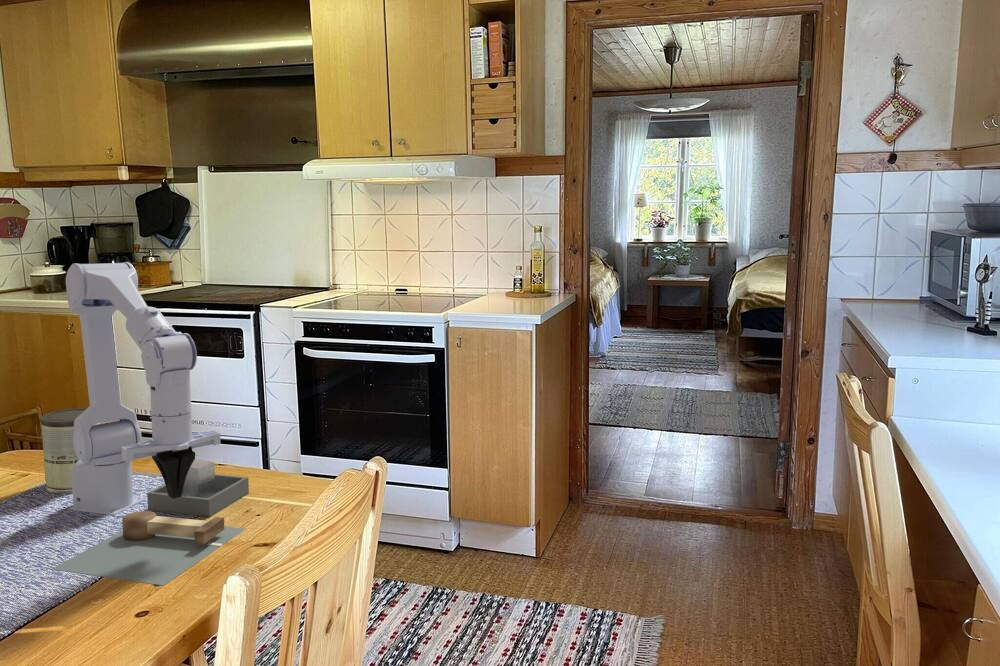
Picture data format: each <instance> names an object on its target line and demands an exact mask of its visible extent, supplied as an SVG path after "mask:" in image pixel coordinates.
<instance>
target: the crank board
mask: <svg viewBox="0 0 1000 666" xmlns="http://www.w3.org/2000/svg"><path fill="white" fill-rule="evenodd" d="M244 531H246V528H242V527H233V526H226V525H224V530H223V531H221V532H220V533H219V534H217V535H216V536H215V537H213V538H212V539H211V540H209V541H208V542H206V543H205V544H197V543H195V538H190V537H180V536H170V535H160V534H155V535H154V536H152V537H150V538H147V539H143V540H126V539H124V538H123V530H121V531H119V532H117V533H115V534H113V535H112V536H110V537H108V538H106V539H104V540H102V541H100V542H99V543H97V544H95V545H93V546H91V547H89V548H88V549H86V550H84V551H82V552H80V553H78V554H76V555H74V556H72V557H71V558H69V559H67V560H65V561H64V562H61V563H60V564H58V565H56V566H55V567H52V568H51V570H52V571H53V570H54V571H62V572H66V573H67V572H69V573H74V574H81V575H89V576H95V577H101V578H109V579H114V580H115V579H116V580H123V581H129V582H135V583H142V584H150V585H156V586H161V587H162V586H163V587H164V586H165V585H167V584H168V583H170V582H171V581H173V580H175V579H176V578H177V577H179V576H180V575H182V574H183V573H184V572H186V571H187V570H188V569H190V568H191V567H193V566H194V565H196V564H198V563H199V562H200V561H202V560H204V559H205V558H207V557H208V556H209V555H210V554H212V553H213V552H215V551H216V550H218V549H220V548H221V547H222V546H224V545H225V544H227V543H228V542H229V541H232V539H233V538H235V537H236V536H238V535H239V534H241V533H243V532H244Z"/></svg>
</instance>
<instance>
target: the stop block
mask: <svg viewBox="0 0 1000 666" xmlns="http://www.w3.org/2000/svg"><path fill="white" fill-rule="evenodd" d="M215 471H216V470H215V462H214V461H209V460H202V459H195V460H194V461H193V463H192V465H191V467H190V469H189V471H188V473H187V476H186V479H185V483H184V487H183V491H182V495H183V496H192V497H201V498H209V497H211V496H213V495H215V474H216V472H215Z"/></svg>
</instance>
